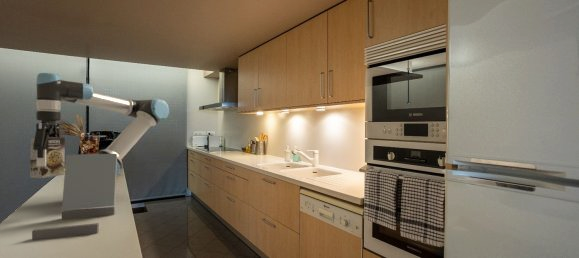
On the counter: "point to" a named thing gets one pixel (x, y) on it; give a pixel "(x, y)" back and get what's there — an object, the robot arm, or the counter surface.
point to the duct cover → (89, 181)
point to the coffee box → (49, 159)
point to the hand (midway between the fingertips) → (48, 164)
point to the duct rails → (74, 229)
